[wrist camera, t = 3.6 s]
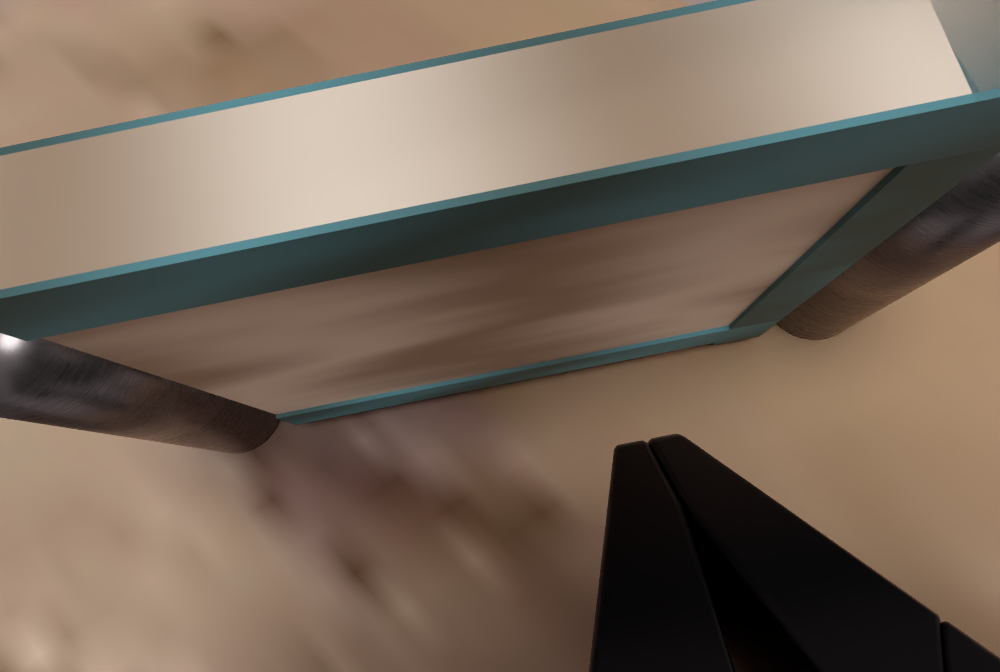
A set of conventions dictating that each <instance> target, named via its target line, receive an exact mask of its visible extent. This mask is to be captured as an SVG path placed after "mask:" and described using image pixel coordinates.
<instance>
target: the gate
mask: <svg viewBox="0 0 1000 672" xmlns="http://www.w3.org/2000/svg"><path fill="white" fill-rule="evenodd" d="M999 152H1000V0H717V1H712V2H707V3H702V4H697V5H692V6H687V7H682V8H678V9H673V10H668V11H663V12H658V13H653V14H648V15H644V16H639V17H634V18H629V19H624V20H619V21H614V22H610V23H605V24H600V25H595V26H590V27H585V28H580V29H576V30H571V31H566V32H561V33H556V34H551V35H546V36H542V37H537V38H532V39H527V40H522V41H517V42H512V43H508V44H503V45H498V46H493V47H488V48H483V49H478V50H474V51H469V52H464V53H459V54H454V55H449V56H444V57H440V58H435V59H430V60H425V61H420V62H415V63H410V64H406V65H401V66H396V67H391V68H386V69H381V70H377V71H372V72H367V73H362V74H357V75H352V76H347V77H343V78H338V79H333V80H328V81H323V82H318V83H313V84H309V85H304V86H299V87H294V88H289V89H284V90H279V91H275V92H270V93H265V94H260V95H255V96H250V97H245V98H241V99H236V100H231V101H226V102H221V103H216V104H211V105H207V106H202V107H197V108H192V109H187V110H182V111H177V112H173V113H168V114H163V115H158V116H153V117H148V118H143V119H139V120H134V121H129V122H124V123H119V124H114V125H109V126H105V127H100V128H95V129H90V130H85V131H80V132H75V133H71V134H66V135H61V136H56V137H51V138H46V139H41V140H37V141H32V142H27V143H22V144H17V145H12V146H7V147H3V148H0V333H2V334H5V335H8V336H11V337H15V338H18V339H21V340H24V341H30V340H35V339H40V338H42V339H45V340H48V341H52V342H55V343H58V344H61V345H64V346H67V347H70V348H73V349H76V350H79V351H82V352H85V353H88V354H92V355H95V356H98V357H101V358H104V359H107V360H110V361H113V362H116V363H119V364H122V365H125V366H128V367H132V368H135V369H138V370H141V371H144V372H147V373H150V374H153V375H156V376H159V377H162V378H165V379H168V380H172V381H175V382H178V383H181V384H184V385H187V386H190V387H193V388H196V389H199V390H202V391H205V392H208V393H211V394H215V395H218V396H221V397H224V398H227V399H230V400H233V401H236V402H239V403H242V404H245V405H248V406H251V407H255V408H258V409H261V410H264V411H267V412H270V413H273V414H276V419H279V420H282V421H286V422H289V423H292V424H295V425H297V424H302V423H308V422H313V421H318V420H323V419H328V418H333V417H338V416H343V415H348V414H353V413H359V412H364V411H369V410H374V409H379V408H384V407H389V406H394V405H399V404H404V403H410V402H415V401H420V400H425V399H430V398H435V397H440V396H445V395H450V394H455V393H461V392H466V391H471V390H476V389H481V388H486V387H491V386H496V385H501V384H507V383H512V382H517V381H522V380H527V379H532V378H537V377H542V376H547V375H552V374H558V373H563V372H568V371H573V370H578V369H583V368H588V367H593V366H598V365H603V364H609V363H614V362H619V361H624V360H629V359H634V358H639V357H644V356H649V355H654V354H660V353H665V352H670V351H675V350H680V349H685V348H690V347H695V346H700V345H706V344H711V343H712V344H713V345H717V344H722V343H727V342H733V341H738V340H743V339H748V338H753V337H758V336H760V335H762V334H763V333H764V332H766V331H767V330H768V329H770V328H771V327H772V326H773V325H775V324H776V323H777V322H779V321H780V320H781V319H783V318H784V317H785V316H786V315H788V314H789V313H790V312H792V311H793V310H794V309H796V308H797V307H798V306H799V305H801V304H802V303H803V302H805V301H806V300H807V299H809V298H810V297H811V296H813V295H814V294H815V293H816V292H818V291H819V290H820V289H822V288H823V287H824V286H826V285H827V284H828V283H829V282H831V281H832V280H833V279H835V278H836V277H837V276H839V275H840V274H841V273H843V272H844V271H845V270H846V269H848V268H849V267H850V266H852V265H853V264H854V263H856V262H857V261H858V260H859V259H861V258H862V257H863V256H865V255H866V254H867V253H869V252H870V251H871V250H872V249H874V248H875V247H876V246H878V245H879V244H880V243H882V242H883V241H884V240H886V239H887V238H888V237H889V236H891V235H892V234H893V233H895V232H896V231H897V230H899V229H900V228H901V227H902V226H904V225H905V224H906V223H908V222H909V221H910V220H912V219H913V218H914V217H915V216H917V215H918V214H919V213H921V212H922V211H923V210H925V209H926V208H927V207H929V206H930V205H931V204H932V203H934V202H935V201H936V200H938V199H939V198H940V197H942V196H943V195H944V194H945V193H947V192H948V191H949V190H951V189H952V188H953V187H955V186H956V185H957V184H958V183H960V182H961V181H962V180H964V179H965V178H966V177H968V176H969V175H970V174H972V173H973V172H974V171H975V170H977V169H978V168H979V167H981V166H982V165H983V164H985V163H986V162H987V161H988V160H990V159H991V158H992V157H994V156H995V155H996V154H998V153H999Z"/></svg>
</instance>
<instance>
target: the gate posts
mask: <svg viewBox="0 0 1000 672" xmlns="http://www.w3.org/2000/svg"><path fill="white" fill-rule="evenodd" d="M999 241H1000V152H999V153H998V154H996V155H995V156H994V157H992V158H991V159H990V160H988V161H987V162H986V163H985V164H983V165H982V166H981V167H979V168H978V169H977V170H975V171H974V172H973V173H972V174H970V175H969V176H968V177H966V178H965V179H964V180H962V181H961V182H960V183H958V184H957V185H956V186H955V187H953V188H952V189H951V190H949V191H948V192H947V193H945V194H944V195H943V196H942V197H940V198H939V199H938V200H936V201H935V202H934V203H932V204H931V205H930V206H929V207H927V208H926V209H925V210H923V211H922V212H921V213H919V214H918V215H917V216H915V217H914V218H913V219H912V220H910V221H909V222H908V223H906V224H905V225H904V226H902V227H901V228H900V229H899V230H897V231H896V232H895V233H893V234H892V235H891V236H889V237H888V238H887V239H886V240H884V241H883V242H882V243H880V244H879V245H878V246H876V247H875V248H874V249H872V250H871V251H870V252H869V253H867V254H866V255H865V256H863V257H862V258H861V259H859V260H858V261H857V262H856V263H854V264H853V265H852V266H850V267H849V268H848V269H846V270H845V271H844V272H843V273H841V274H840V275H839V276H837V277H836V278H835V279H833V280H832V281H831V282H829V283H828V284H827V285H826V286H824V287H823V288H822V289H820V290H819V291H818V292H816V293H815V294H814V295H813V296H811V297H810V298H809V299H807V300H806V301H805V302H803V303H802V304H801V305H799V306H798V307H797V308H796V309H794V310H793V311H792V312H790V313H789V314H788V315H786V316H785V317H784V318H783V319H781V320H780V321H779V322H777V324H778V325H779V326H780V327H782V328H783V329H784V330H786V331H787V332H789V333H791V334H793V335H795V336H798V337H801V338H805V339H825V338H829V337H832V336H834V335H837V334H838V333H840V332H842V331H844V330H845V329H847V328H849V327H851V326H852V325H854V324H856V323H858V322H859V321H861V320H863V319H865V318H866V317H868V316H870V315H872V314H873V313H875V312H877V311H879V310H880V309H882V308H884V307H886V306H887V305H889V304H891V303H893V302H894V301H896V300H898V299H900V298H901V297H903V296H905V295H907V294H908V293H910V292H912V291H914V290H915V289H917V288H919V287H921V286H922V285H924V284H926V283H928V282H929V281H931V280H933V279H935V278H936V277H938V276H940V275H942V274H943V273H945V272H947V271H949V270H950V269H952V268H954V267H956V266H957V265H959V264H961V263H963V262H964V261H966V260H968V259H970V258H971V257H973V256H975V255H977V254H978V253H980V252H982V251H984V250H985V249H987V248H989V247H991V246H992V245H994V244H996V243H998V242H999ZM0 417H1V418H7V419H14V420H20V421H27V422H33V423H40V424H46V425H52V426H59V427H65V428H72V429H78V430H85V431H91V432H98V433H104V434H111V435H117V436H123V437H130V438H136V439H143V440H149V441H156V442H162V443H169V444H175V445H182V446H188V447H195V448H201V449H207V450H214V451H220V452H227V453H242V452H246V451H249V450H252V449H254V448H256V447H258V446H259V445H261V444H262V443H264V442H265V441H266V440H267V439H268V438H269V437H270V436H271V435H272V433H273V432H274V430H275V429H276V427H277V425H278V423H279V421H280V420H279V419H276V414H273V413H270V412H267V411H264V410H261V409H258V408H255V407H251V406H248V405H245V404H242V403H239V402H236V401H233V400H230V399H227V398H224V397H221V396H218V395H215V394H211V393H208V392H205V391H202V390H199V389H196V388H193V387H190V386H187V385H184V384H181V383H178V382H175V381H172V380H168V379H165V378H162V377H159V376H156V375H153V374H150V373H147V372H144V371H141V370H138V369H135V368H132V367H128V366H125V365H122V364H119V363H116V362H113V361H110V360H107V359H104V358H101V357H98V356H95V355H92V354H88V353H85V352H82V351H79V350H76V349H73V348H70V347H67V346H64V345H61V344H58V343H55V342H52V341H48V340H45V339H42V338H40V339H35V340H30V341H24V340H21V339H18V338H15V337H11V336H8V335H5V334H2V333H0Z"/></svg>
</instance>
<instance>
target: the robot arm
mask: <svg viewBox="0 0 1000 672" xmlns="http://www.w3.org/2000/svg"><path fill="white" fill-rule="evenodd" d="M589 672H1000V658H999V657H998V656H996V655H995V654H993V653H992V652H990V651H989V650H987V649H986V648H985V647H983V646H982V645H980V644H979V643H977V642H976V641H975V640H973V639H972V638H970V637H969V636H968V635H966V634H965V633H963V632H962V631H960V630H959V629H958V628H956V627H955V626H953V625H952V624H950V623H949V622H946V621H945V622H942V623H941V624H940V618H939V616H938V615H937V614H936V613H934V612H933V611H931V610H930V609H929V608H927V607H926V606H924V605H923V604H921V603H920V602H919V601H917V600H916V599H914V598H913V597H912V596H910V595H909V594H907V593H906V592H904V591H903V590H902V589H900V588H899V587H897V586H896V585H894V584H893V583H892V582H890V581H889V580H887V579H886V578H884V577H883V576H882V575H880V574H879V573H877V572H876V571H875V570H873V569H872V568H870V567H869V566H867V565H866V564H865V563H863V562H862V561H860V560H859V559H857V558H856V557H855V556H853V555H852V554H850V553H849V552H848V551H846V550H845V549H843V548H842V547H840V546H839V545H838V544H836V543H835V542H833V541H832V540H830V539H829V538H828V537H826V536H825V535H823V534H822V533H820V532H819V531H818V530H816V529H815V528H813V527H812V526H811V525H809V524H808V523H806V522H805V521H803V520H802V519H801V518H799V517H798V516H796V515H795V514H793V513H792V512H791V511H789V510H788V509H786V508H785V507H784V506H782V505H781V504H779V503H778V502H776V501H775V500H774V499H772V498H771V497H769V496H768V495H766V494H765V493H764V492H762V491H761V490H759V489H758V488H756V487H755V486H754V485H752V484H751V483H749V482H748V481H747V480H745V479H744V478H742V477H741V476H739V475H738V474H737V473H735V472H734V471H732V470H731V469H729V468H728V467H727V466H725V465H724V464H722V463H721V462H720V461H718V460H717V459H715V458H714V457H712V456H711V455H710V454H708V453H707V452H705V451H704V450H702V449H701V448H700V447H698V446H697V445H695V444H694V443H692V442H691V441H690V440H688V439H687V438H685V437H684V436H682V435H679V434H672V435H667V436H662V437H657V438H652V439H651V440H650V441H649V442H648V443H647V442H645V441H636V442H631V443H626V444H621V445H617V446H616V447H615V449H614V455H613V464H612V473H611V482H610V491H609V499H608V508H607V517H606V526H605V535H604V544H603V553H602V561H601V570H600V579H599V588H598V597H597V606H596V614H595V623H594V632H593V641H592V650H591V659H590V668H589Z"/></svg>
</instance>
